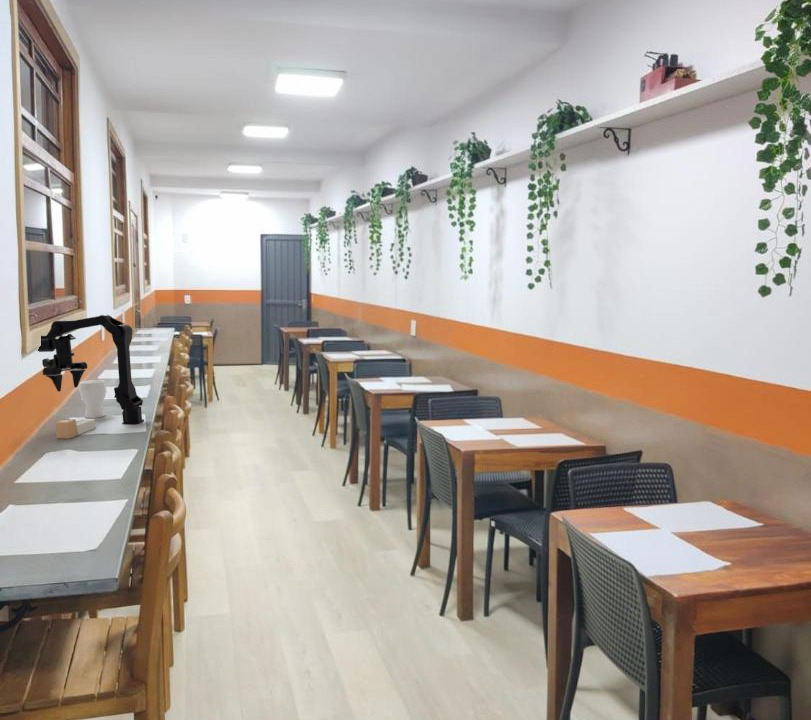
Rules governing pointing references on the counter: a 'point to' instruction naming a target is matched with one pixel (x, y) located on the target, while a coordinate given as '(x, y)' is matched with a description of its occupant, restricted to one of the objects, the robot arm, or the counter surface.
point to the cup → (93, 397)
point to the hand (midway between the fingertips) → (67, 389)
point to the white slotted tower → (85, 425)
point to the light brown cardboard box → (66, 428)
